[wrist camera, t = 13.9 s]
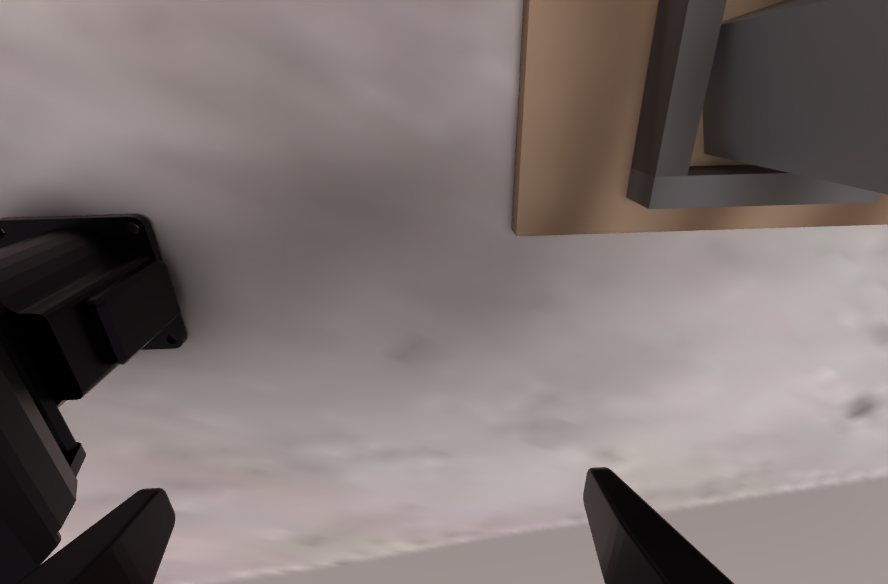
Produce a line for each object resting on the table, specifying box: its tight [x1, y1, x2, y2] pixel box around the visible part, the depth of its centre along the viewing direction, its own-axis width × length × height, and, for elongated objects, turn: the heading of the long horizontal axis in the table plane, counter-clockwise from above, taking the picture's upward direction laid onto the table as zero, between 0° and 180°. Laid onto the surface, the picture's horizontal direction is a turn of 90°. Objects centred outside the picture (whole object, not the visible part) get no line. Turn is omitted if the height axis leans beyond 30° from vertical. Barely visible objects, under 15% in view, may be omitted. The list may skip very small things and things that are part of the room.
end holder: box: [512, 0, 888, 236], centre depth 15 cm, size 18×12×3 cm, turn 91°
